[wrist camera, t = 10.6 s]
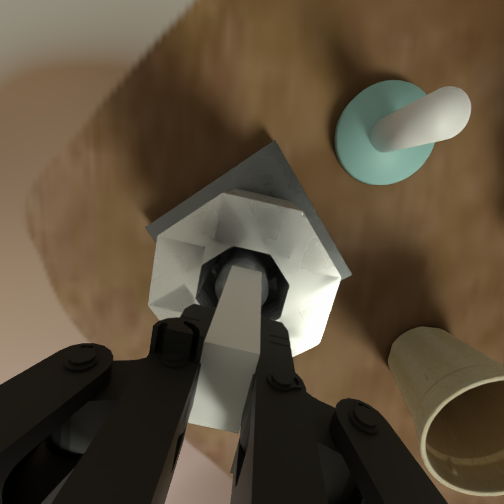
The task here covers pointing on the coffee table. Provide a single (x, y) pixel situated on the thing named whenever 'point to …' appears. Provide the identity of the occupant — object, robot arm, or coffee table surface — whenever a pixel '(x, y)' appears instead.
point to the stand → (396, 129)
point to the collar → (253, 238)
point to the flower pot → (453, 408)
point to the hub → (262, 182)
